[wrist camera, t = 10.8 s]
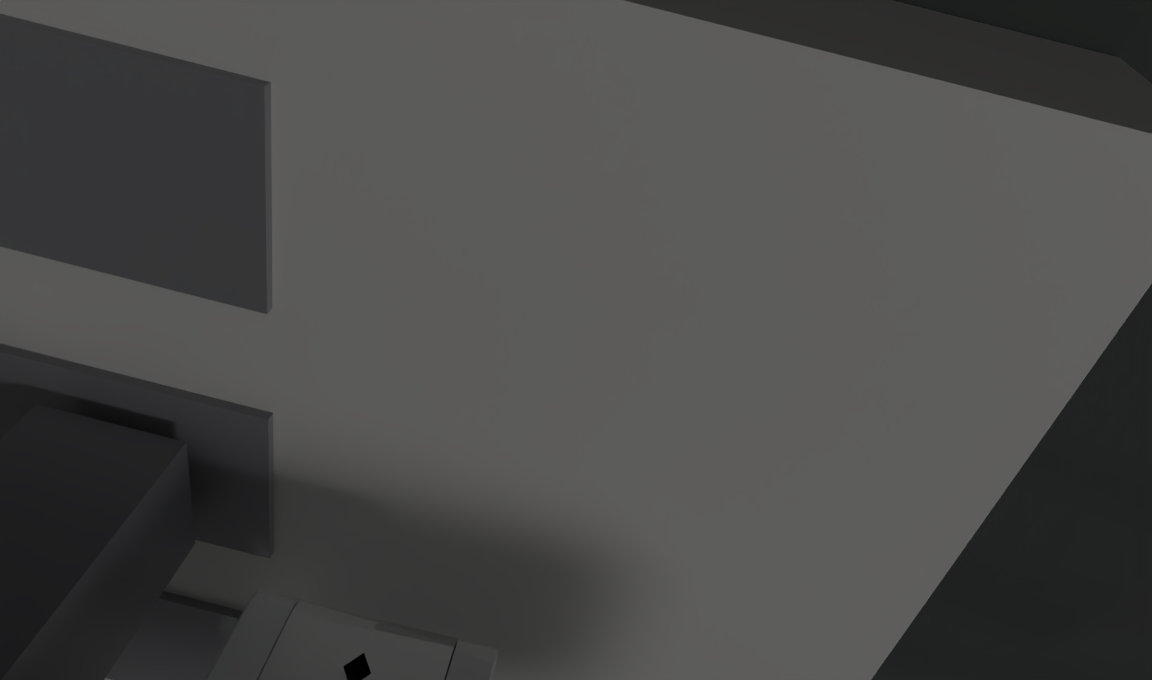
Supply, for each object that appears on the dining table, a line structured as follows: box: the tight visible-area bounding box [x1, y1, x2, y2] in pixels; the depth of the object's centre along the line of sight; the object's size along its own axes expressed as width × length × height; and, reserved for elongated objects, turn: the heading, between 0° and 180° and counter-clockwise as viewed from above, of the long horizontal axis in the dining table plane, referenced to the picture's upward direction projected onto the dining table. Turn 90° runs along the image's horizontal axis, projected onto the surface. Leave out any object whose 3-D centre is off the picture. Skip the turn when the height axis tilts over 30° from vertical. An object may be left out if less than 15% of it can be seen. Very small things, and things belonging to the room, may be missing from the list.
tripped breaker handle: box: [0, 404, 195, 680], centre depth 10 cm, size 2×2×4 cm
